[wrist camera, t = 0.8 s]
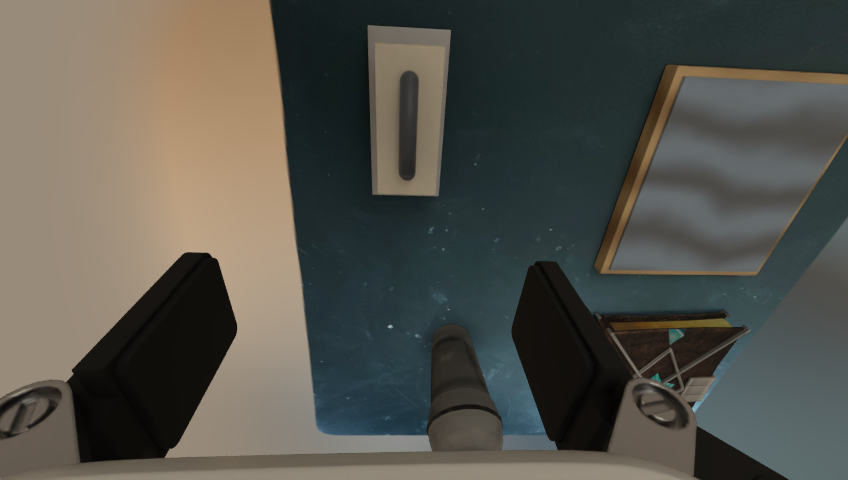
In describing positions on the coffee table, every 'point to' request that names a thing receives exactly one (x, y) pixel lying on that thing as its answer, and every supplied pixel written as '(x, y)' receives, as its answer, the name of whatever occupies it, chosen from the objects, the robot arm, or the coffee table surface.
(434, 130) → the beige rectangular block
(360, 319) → the coffee table surface
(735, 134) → the board
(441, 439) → the beverage cup
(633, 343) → the book
